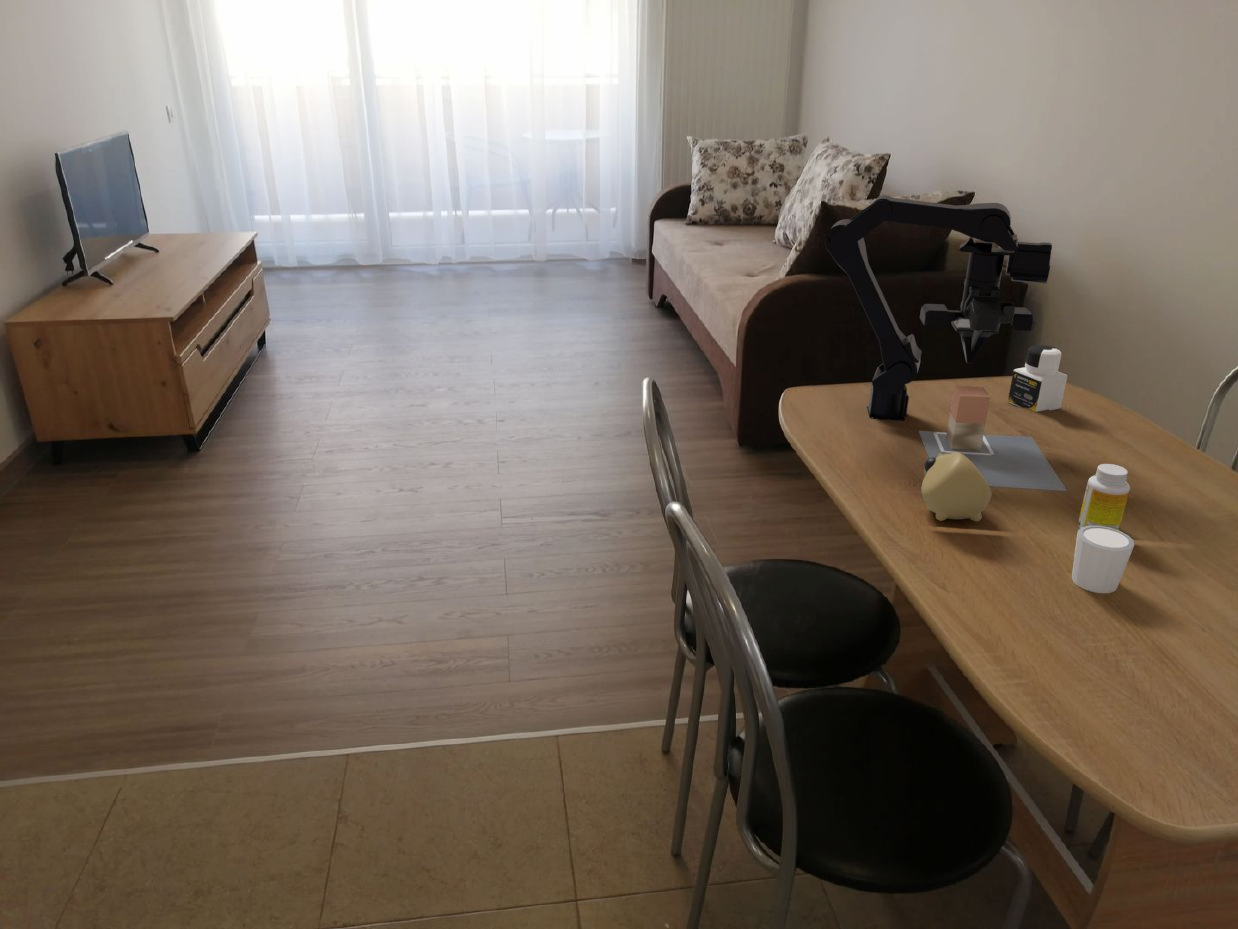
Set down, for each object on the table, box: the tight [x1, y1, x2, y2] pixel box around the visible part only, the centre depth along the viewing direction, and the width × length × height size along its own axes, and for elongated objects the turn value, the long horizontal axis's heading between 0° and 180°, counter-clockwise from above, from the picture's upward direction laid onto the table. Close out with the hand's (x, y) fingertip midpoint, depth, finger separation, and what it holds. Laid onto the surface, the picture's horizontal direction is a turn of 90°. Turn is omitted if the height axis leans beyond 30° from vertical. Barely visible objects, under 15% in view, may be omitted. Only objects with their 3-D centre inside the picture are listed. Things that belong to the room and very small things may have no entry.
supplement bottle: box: [1077, 463, 1131, 531], centre depth 138 cm, size 6×6×10 cm
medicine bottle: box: [1007, 344, 1068, 413], centre depth 183 cm, size 7×7×12 cm
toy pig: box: [920, 452, 993, 522], centre depth 142 cm, size 10×12×11 cm
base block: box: [946, 412, 986, 450], centre depth 166 cm, size 5×5×5 cm
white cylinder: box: [1071, 526, 1135, 594], centre depth 125 cm, size 7×7×7 cm
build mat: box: [918, 430, 1068, 492], centre depth 162 cm, size 20×22×1 cm
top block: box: [949, 385, 991, 425], centre depth 164 cm, size 5×5×5 cm
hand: (968, 362), depth 171 cm, fingers closed
